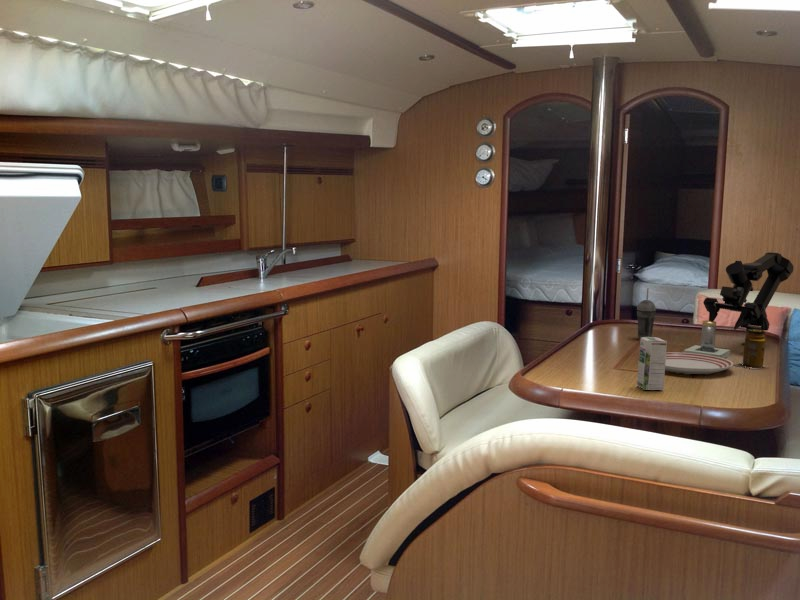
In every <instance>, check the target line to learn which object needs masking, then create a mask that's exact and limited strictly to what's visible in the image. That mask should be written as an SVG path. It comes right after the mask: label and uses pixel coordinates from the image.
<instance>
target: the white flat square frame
mask: <svg viewBox="0 0 800 600" xmlns="http://www.w3.org/2000/svg"><path fill="white" fill-rule="evenodd" d="M700 350H701V345H696V344H694V345H692V346H690V347H688V348H686V349H684V350H683V353H694V354H703V355H710V356H715V357H720V358H724V359H727V358H728V357H730V356H731V349H725V348H718V347H714V353H712V352H704V351H700Z"/></svg>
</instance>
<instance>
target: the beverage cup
mask: <svg viewBox="0 0 800 600" xmlns="http://www.w3.org/2000/svg"><path fill="white" fill-rule="evenodd" d="M649 289H650V288H646V299H644V300H641V301H640V302H639V303H638V305H637V307H636V316H637V336H638V337H637V338H638V340H637V341H639V340H641V338H642V337H653V336H652V335H653V330H654V323H655V316H656V314H657V313H656V312H657V307H656V304H655V303H654V302H653V301H651V300H649Z"/></svg>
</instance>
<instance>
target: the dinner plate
mask: <svg viewBox="0 0 800 600" xmlns="http://www.w3.org/2000/svg"><path fill="white" fill-rule="evenodd" d="M733 366H734V362H733V361H731V360H729V359H727V358H720V357H715V356H710V355H703V354H694V353H684V352H678V351H677V352H675V351H673V352H671V351H668V352H667V351H666V363H665V372H668V371H671V372H670V373H673V372H676V373H675V374H679V373H684V374H683V375H690V374H705V375H712V374H714V373H718V372H722V371H725V370H727V369H730V368H731V367H733Z"/></svg>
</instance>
